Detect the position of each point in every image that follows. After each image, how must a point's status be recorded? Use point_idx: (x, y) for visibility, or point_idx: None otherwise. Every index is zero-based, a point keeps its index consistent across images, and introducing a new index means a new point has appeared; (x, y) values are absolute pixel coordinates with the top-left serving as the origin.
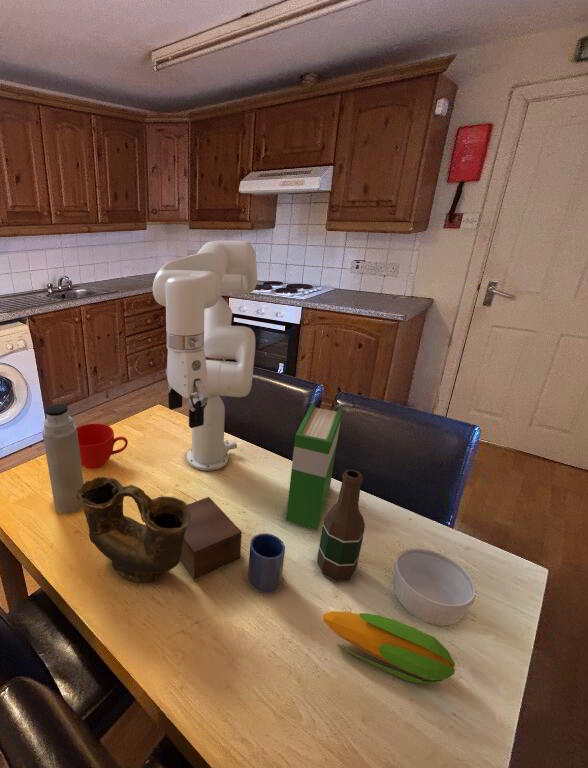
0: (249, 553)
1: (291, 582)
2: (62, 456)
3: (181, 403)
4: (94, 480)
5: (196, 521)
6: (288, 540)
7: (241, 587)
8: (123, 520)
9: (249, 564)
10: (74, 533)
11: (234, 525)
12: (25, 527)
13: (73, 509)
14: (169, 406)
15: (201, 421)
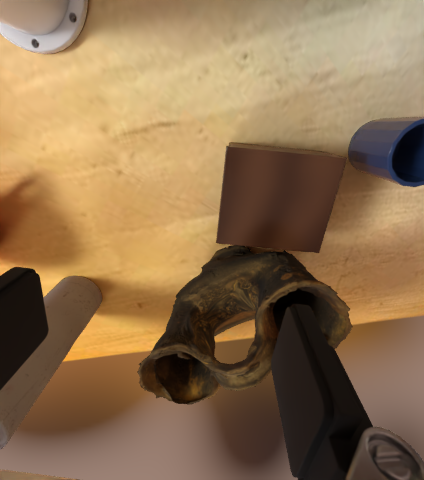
0: (381, 176)
1: (411, 113)
2: (41, 389)
3: (19, 289)
4: (142, 373)
5: (269, 212)
6: (359, 34)
7: (356, 185)
8: (212, 318)
9: (373, 174)
10: (141, 308)
11: (325, 159)
12: (104, 344)
13: (99, 300)
14: (32, 349)
15: (334, 354)
